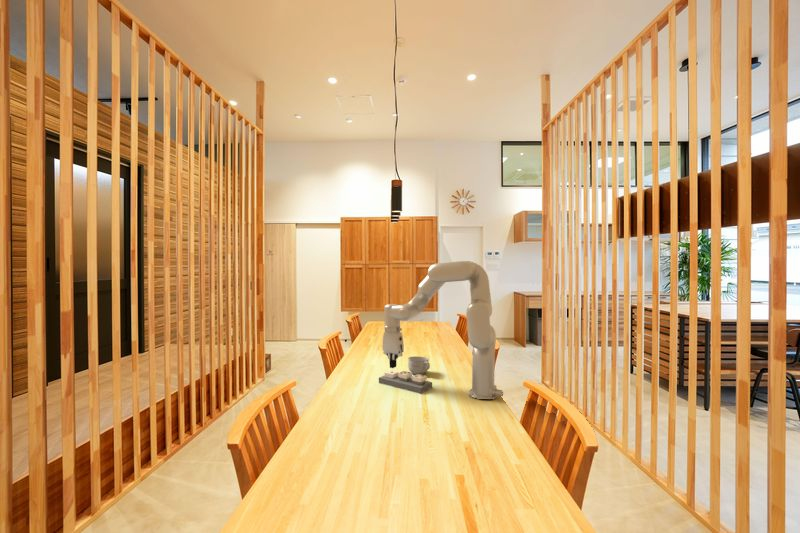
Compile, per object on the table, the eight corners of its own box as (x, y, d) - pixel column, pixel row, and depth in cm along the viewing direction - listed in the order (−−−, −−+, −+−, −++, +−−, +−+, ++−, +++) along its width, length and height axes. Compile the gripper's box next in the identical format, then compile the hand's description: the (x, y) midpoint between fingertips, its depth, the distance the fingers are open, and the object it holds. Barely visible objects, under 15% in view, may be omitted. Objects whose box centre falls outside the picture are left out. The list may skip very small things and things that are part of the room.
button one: (398, 380, 180) (398, 371, 180) (392, 383, 176) (392, 374, 176) (390, 378, 183) (390, 370, 183) (384, 381, 179) (384, 372, 179)
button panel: (432, 387, 172) (432, 382, 172) (420, 393, 164) (420, 388, 164) (391, 377, 186) (391, 372, 186) (378, 382, 178) (378, 377, 178)
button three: (412, 381, 175) (412, 372, 175) (406, 384, 171) (406, 374, 171) (403, 379, 178) (403, 370, 178) (398, 382, 174) (398, 373, 174)
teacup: (404, 371, 196) (404, 356, 196) (422, 369, 201) (422, 354, 201) (416, 379, 184) (416, 363, 184) (435, 376, 188) (435, 360, 188)
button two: (426, 384, 171) (426, 375, 170) (420, 387, 167) (420, 378, 167) (417, 382, 173) (417, 373, 173) (412, 385, 169) (412, 376, 169)
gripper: (409, 329, 178) (410, 367, 178) (385, 327, 186) (385, 363, 187) (400, 332, 172) (400, 371, 172) (375, 329, 180) (376, 366, 180)
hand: (393, 367), depth 179 cm, fingers closed
